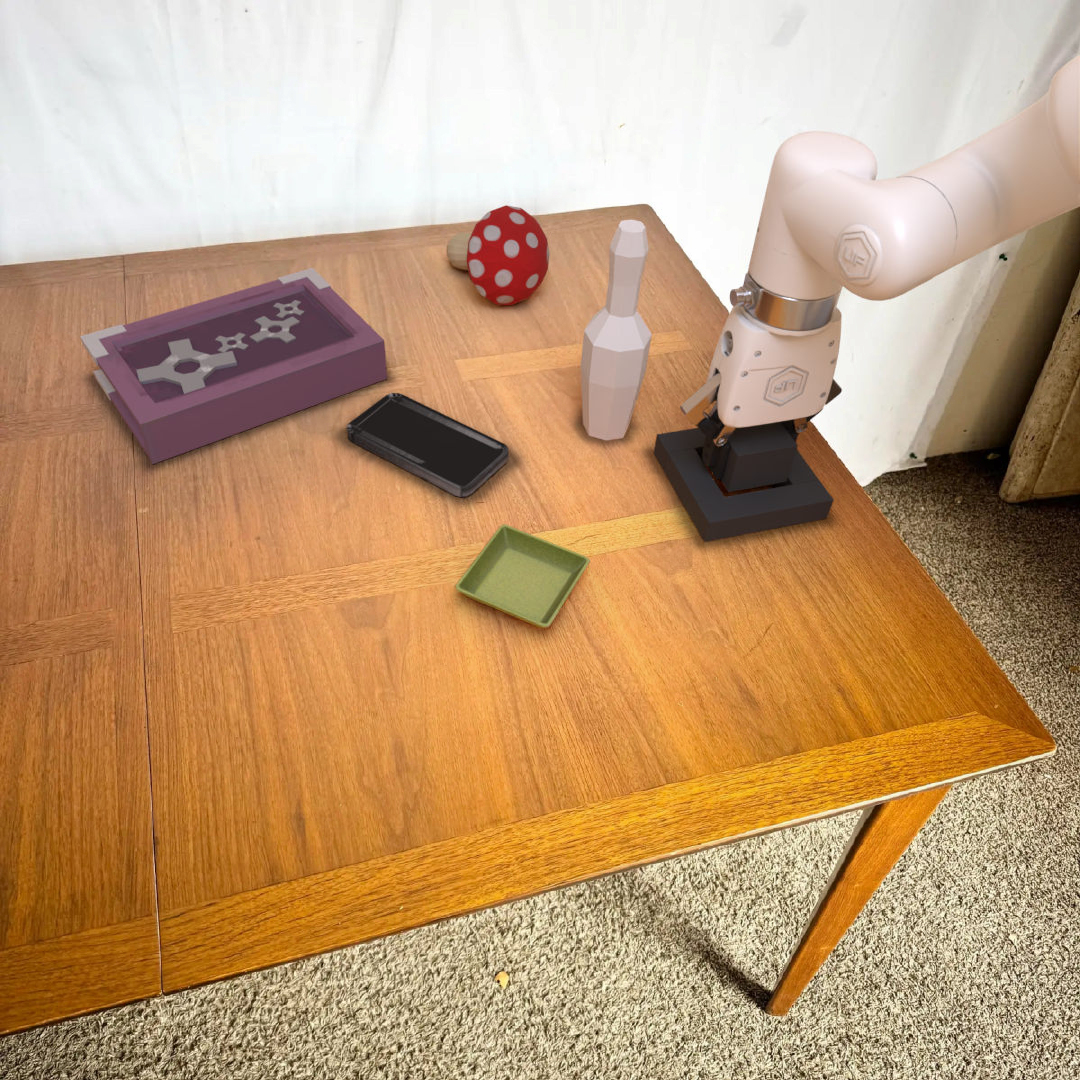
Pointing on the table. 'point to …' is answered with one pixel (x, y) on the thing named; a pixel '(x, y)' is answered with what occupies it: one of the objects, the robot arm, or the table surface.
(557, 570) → the green square tray
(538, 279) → the decorative mushroom
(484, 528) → the table surface
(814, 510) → the frame pad
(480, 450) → the phone
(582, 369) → the faceted bottle
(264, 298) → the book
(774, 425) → the black square block
